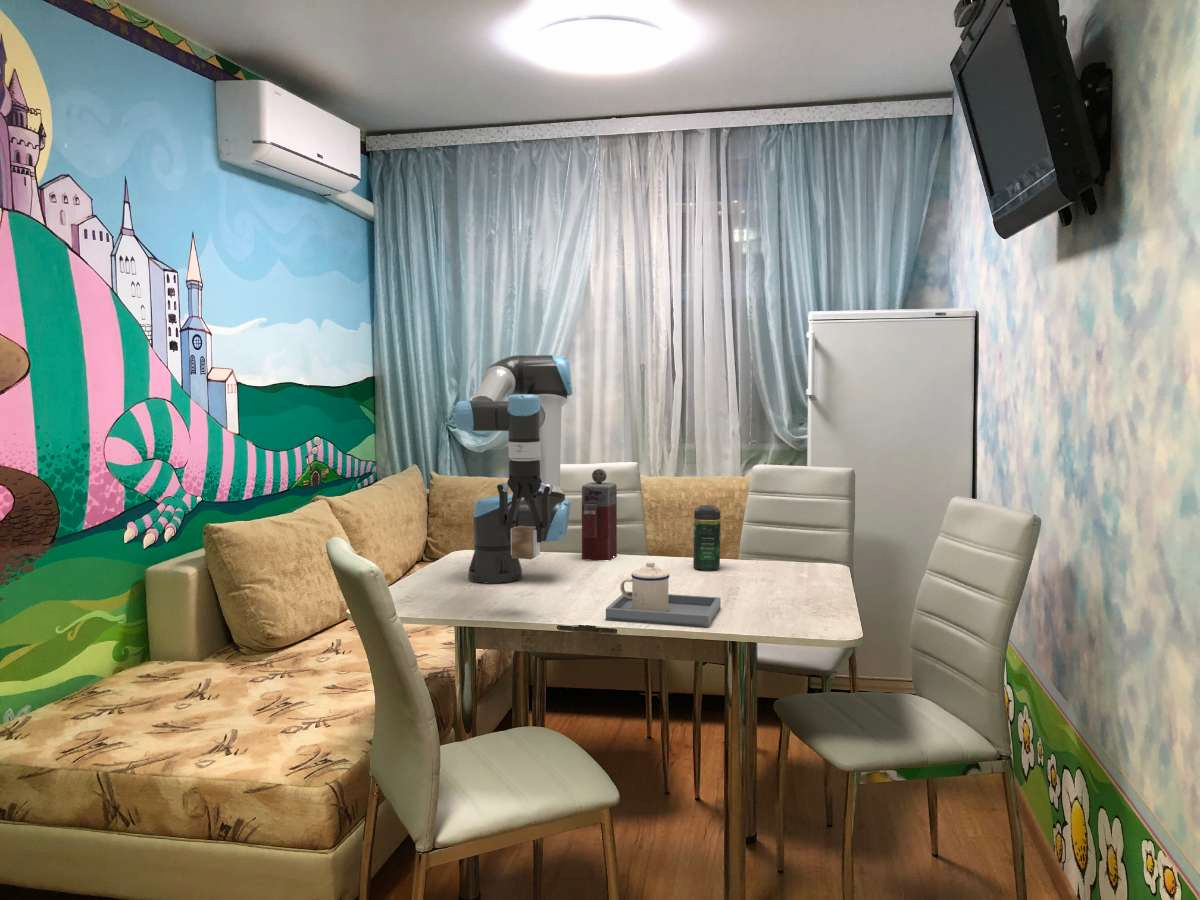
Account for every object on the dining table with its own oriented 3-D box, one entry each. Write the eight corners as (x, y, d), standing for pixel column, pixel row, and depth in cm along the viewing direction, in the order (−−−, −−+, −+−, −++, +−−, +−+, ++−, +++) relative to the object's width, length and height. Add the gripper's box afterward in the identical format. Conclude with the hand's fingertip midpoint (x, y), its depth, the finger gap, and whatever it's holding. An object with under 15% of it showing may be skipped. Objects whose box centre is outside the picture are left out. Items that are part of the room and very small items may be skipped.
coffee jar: (720, 571, 259) (721, 508, 258) (693, 570, 260) (693, 507, 259) (720, 564, 269) (720, 503, 267) (693, 564, 270) (694, 503, 268)
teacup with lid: (673, 607, 216) (673, 559, 215) (663, 616, 207) (663, 567, 206) (626, 603, 220) (626, 556, 219) (614, 612, 211) (614, 563, 210)
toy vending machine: (579, 560, 275) (579, 470, 273) (590, 554, 286) (589, 467, 284) (607, 562, 272) (607, 471, 270) (616, 555, 283) (616, 468, 281)
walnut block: (511, 558, 213) (511, 529, 213) (519, 553, 218) (519, 525, 217) (531, 559, 212) (531, 530, 211) (538, 555, 217) (538, 526, 216)
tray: (605, 619, 207) (605, 608, 207) (625, 601, 224) (625, 591, 224) (708, 627, 200) (708, 616, 200) (720, 608, 217) (720, 597, 217)
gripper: (483, 459, 212) (484, 556, 214) (555, 461, 207) (555, 560, 209) (495, 456, 219) (496, 549, 221) (565, 458, 214) (565, 553, 216)
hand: (525, 554), depth 215 cm, fingers closed on walnut block, 5 cm apart
